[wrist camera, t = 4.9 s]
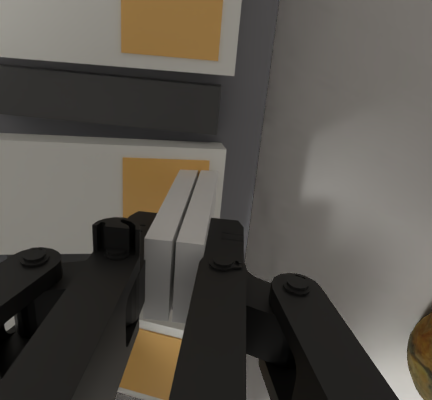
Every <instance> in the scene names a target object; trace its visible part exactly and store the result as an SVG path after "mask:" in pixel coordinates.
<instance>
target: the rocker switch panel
mask: <svg viewBox="0 0 432 400" xmlns="http://www.w3.org/2000/svg"><path fill="white" fill-rule="evenodd" d="M278 6H279V0H242V4H241V14H240V24H239V34H238V44H237V54H236V64H235V74H234V76H227V75H214V74H202V73H190V72H178V71H166V70H153V69H141V68H129V67H117V66H105V65H92V64H80V63H68V62H56V61H44V60H31V59H19V58H7V57H0V133H16V134H38V135H60V136H82V137H105V138H127V139H149V140H171V141H193V142H216V143H222V144H223V146H224V147H225V148H226V160H225V170H224V181H223V191H222V201H221V211H220V219H229V220H238V221H239V222H240V223H241V225H242V226H243V227H244V263H245V255H246V248H247V240H248V233H249V225H250V218H251V210H252V203H253V195H254V187H255V180H256V172H257V165H258V157H259V150H260V142H261V135H262V127H263V120H264V112H265V104H266V97H267V89H268V82H269V74H270V67H271V59H272V52H273V44H274V37H275V29H276V21H277V14H278ZM90 255H91V254H61V257H62V263H64V262H78V261H85V260H87V259H88V258H89V256H90ZM11 256H12V255H0V263H1V262H2V261H4V260H6V259H7V258H9V257H11ZM172 310H173V305H172Z"/></svg>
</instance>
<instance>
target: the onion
mask: <svg viewBox="0 0 432 400" xmlns="http://www.w3.org/2000/svg"><path fill="white" fill-rule="evenodd" d="M407 361H408V367H409V371H410V374H411V377H412V379H413V382H414V385H415V387H416V389H417V391H418V392H419V394H420V395H421V397H422V398H423V399H424V400H432V312H431V313H430V314H429V315H427V316H425V317H424V318H422V319H421V321H419V322H418V323H417V324H416V326H415V327H414V329H413V331H412V332H411V334H410V337H409V341H408V347H407Z"/></svg>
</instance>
